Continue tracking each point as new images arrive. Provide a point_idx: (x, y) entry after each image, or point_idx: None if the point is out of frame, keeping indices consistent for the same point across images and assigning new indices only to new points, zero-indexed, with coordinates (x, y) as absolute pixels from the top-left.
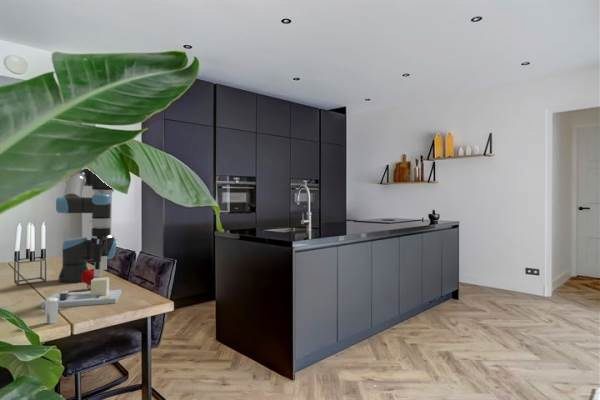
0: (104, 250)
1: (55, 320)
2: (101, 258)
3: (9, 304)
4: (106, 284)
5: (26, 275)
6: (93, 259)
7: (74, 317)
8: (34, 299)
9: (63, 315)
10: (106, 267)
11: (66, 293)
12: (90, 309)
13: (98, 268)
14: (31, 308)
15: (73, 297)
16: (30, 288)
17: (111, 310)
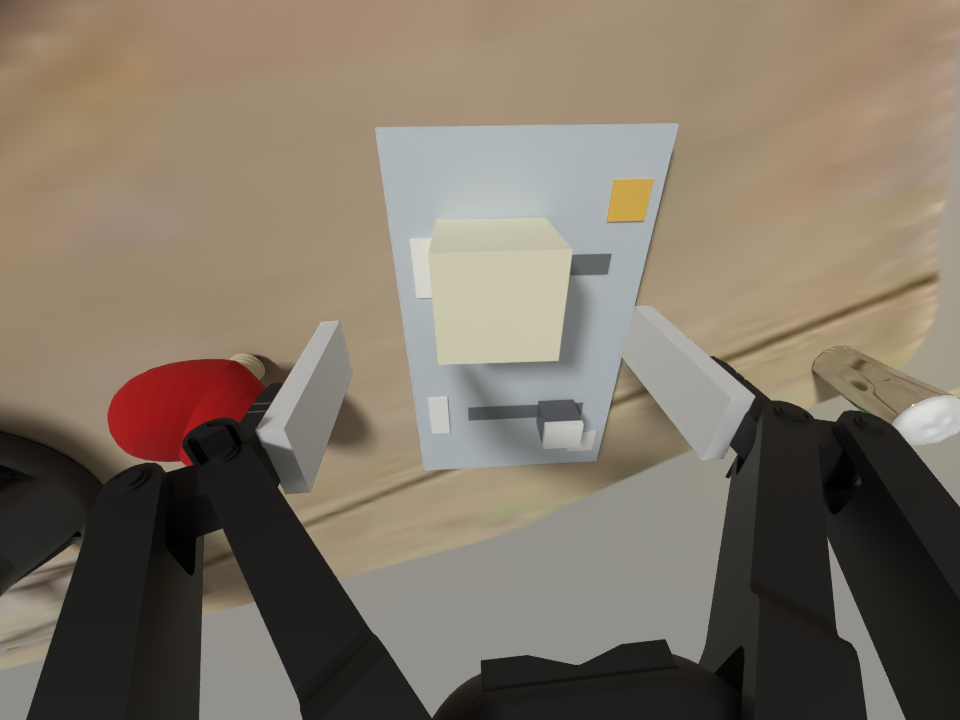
0: (315, 548)
1: (856, 351)
2: (314, 456)
3: (487, 532)
4: (562, 238)
5: (15, 625)
6: (852, 488)
7: (822, 296)
8: (434, 499)
9: (752, 347)
10: (325, 332)
11: (580, 420)
12: (723, 256)
13: (722, 364)
14: (572, 470)
15: (532, 382)
16: None
17: (833, 121)
